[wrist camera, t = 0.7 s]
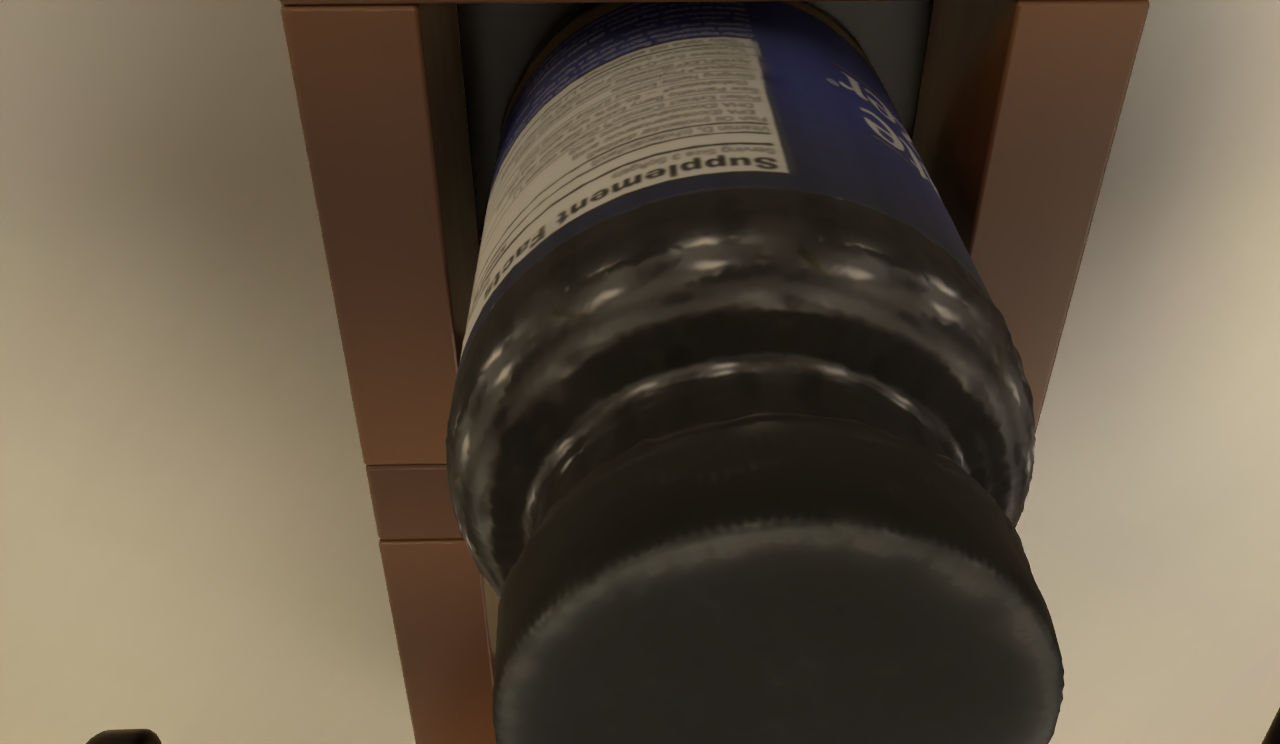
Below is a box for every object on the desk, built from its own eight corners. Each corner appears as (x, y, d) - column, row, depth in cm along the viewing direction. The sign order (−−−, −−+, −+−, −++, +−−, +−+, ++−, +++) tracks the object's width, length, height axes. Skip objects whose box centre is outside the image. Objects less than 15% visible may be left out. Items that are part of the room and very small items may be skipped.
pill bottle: (922, 243, 19) (1198, 848, 10) (589, 355, 21) (582, 985, 12) (823, -115, 16) (1107, 332, 7) (429, 44, 17) (243, 600, 8)
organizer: (894, 693, 26) (930, 832, 24) (451, 704, 26) (433, 845, 23) (1082, -206, 15) (1191, -146, 13) (315, -203, 15) (251, -142, 12)
